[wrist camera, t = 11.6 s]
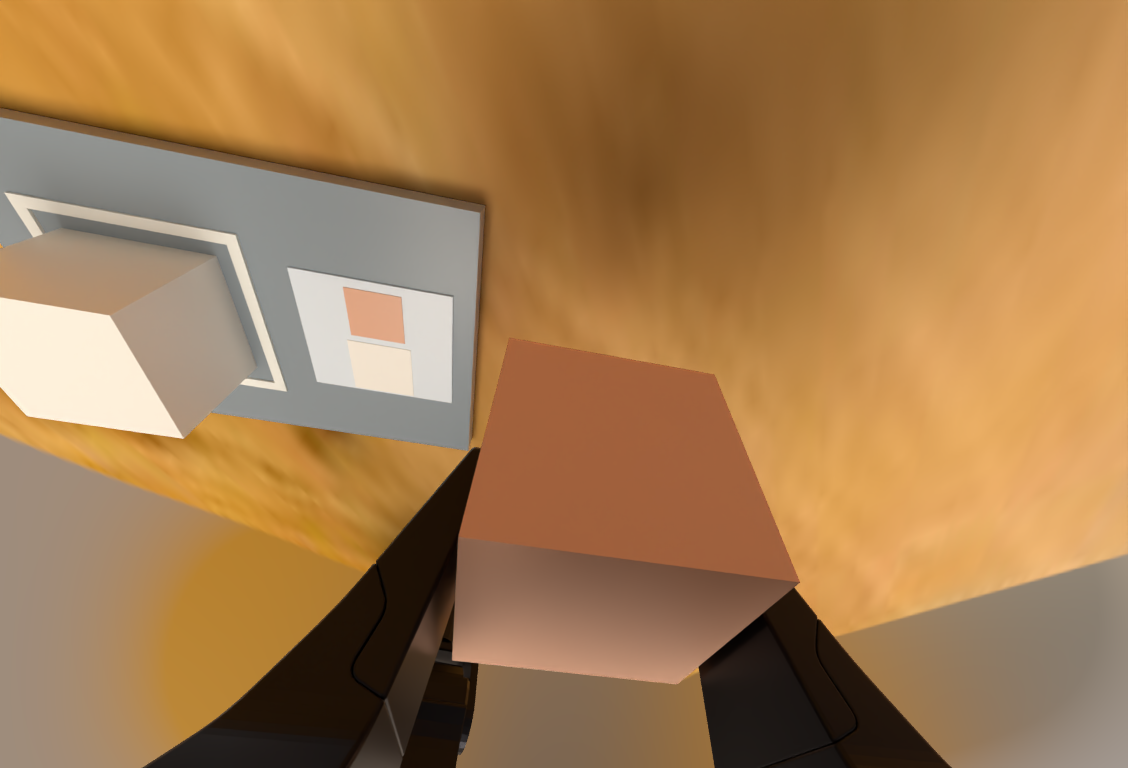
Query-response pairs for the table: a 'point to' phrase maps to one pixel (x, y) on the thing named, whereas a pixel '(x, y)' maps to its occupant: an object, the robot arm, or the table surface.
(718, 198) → the table surface
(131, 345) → the cream block
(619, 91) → the table surface
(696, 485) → the terracotta block
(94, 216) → the building plate
